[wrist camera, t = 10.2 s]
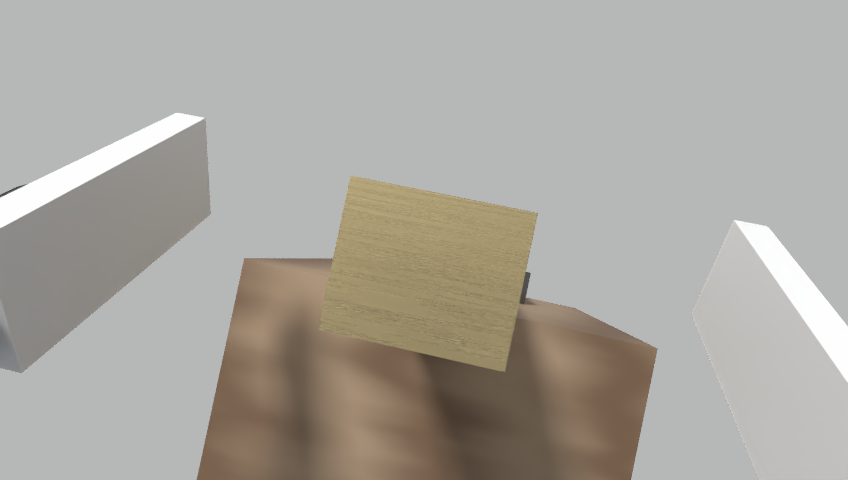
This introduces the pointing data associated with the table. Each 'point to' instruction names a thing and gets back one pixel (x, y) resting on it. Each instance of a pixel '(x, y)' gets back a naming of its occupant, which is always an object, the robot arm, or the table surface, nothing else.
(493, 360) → the light wood bar
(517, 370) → the walnut stand
